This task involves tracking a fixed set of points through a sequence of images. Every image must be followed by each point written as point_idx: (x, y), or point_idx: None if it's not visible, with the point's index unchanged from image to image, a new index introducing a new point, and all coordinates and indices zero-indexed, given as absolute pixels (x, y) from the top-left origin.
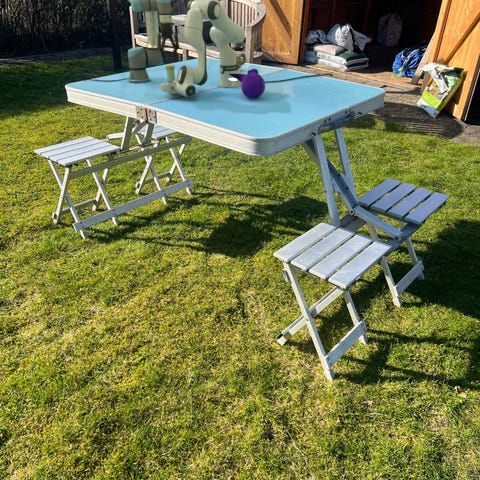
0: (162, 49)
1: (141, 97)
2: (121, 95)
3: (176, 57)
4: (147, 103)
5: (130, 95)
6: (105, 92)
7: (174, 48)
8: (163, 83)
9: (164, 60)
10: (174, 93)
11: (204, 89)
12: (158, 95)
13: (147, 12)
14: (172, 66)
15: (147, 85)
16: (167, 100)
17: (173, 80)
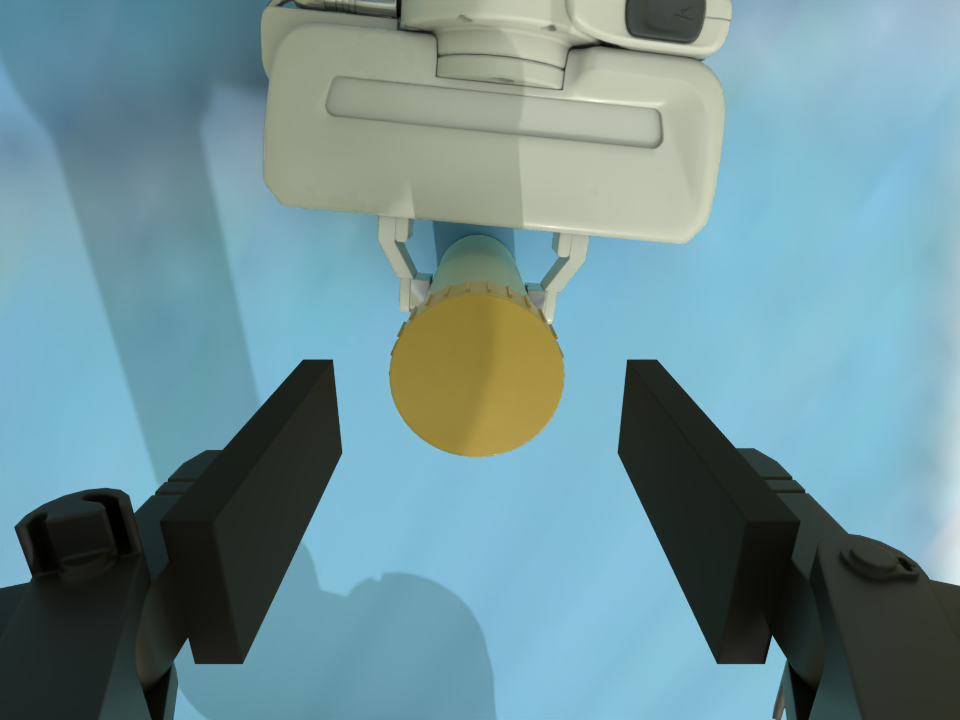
0: (902, 603)
1: (796, 341)
2: (857, 526)
3: (273, 395)
4: (944, 35)
5: (807, 478)
6: None
7: (146, 666)
8: (667, 206)
9: (672, 378)
10: (475, 235)
11: (87, 221)
12: (627, 306)
13: None
14: (467, 295)
15: (479, 697)
16: None
17: (472, 258)
